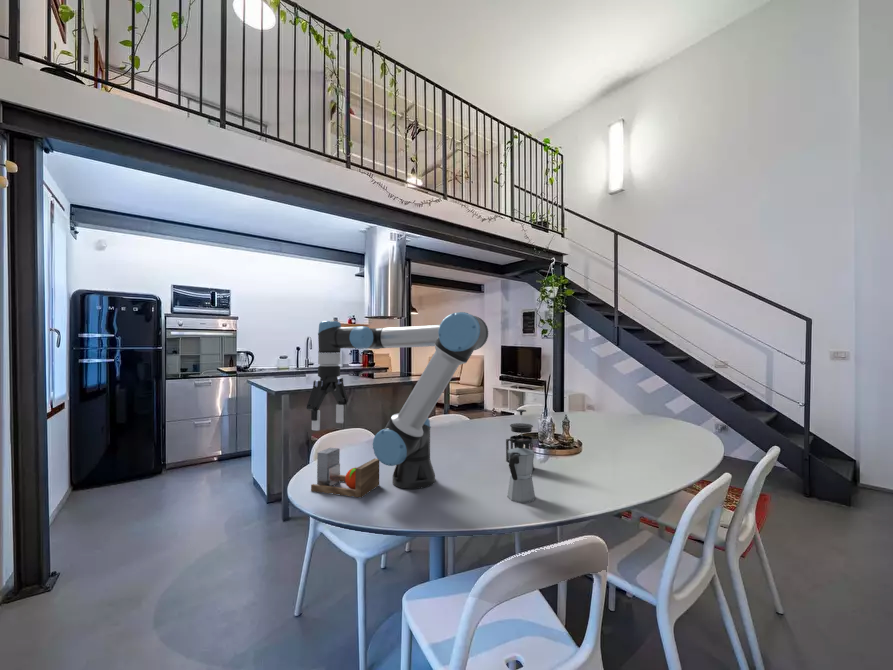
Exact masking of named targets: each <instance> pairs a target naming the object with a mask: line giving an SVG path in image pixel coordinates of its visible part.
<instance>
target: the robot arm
mask: <svg viewBox="0 0 893 670" xmlns="http://www.w3.org/2000/svg"><path fill="white" fill-rule="evenodd" d="M317 337H318V339H317V340H318V350H317V351H318V352H317V353H318V357H317V358H318V360H317V363H318V365H319V366H318V367H317V376H318V377H319V378H320V379H319V380H317V379H316V380H313V382H312V383H313V386H312V389H311V391H310V392H311V393H310V395H309V399H308V402H307V404H306V410H308V411H310V412H311V413H310V416H311V418H310V419H311V430H312V431H320V430H321V410H319V409H320V407H321V406H322V403H323V401H324V399H325V397H326V395H327V394H329V393H331V394H332V396H333V398H334V400H335V401H336V403H337V404H335V423H336V424H344V421H345V419H344V416H345V415H344V414H345V405H347V404H348V402H349V399H348V394H347V392H346V388H345V385H344V378H343V377H341V366H340V364H341V363H342V361H341V359H342V358H341V350H342V349H358V350H360V349H361V350H364V349H365V350H366V349H374V350H379V349H396V348H399V349H400V348H422V347H423V348H424V347H425V348H426V347H434V348H435V351H434V353H433V355H432V357H431V359H430V360H429V362H428V363H427V365H426V366H425V368H424V370H423V372H422V373H421V375H420V377H419V379H418V380H417V381H416V384H415V385H414V387H413V389H412V390H411V391H410V394H409V396H408V398H406V401H405V403H404V404H403V406H402V408H401V409H400V410H399V412H398V413H394V414H392V415H391V417H390V418H389V420H388V421H387V424H386V425H385V427H384V428H383V429H380V430H379V431H378V432H377V433H376V434H375V435H374V436H373V437H374V438H373V440H372V449H373V453H374V455H375V457H376V459H378V460H379V463H382V464H383V465H385V466H389V467H393V466H395V468H394V471H393V473H392V484H393V486H395V487H397V488H401V489H407V490H408V489H409V490H415V489H424V488H427V487H430V486H432V485H434V484H435V482H436V474H435V470H434V467H433V464H432V461H431V421H430V419H429V416H430V415H431V413H432V411H433V409H434V408H435V406H436V404H437V402H438V401H439V400H440V398H441V396H442V394H443V393H444V391H445V389H446V388H447V387H448V384H449V383H450V381H451V380H452V378H453V376H454V375H455V373H456V372H457V370H458V368H459V367H460V366H461V365H463V364H464V365H465V364H467V362H468V361H469V360H470V358H471V356H472V354H473V353H474V351H477V350H479V349H480V348H483V346H484V345H486V343H487V341H488V338H489V329H488V326H487V323H486V322H485V321H484V320H483V319H482V318H481V317H478V316H477V315H473V314H470V313H468V312H463V311H460V312H453V313H450V314H449V315H447V316H445V317H444V319H442V321H441V322H440V324H430V325H427V324H426V325H413V326H396V327H380V328H379V327H376V328H373V327H369V326H362V325H361V326H360V325H358V326H342V323H341V322H340V321H335V320H323V321H320V322H319V325H318V332H317Z"/></svg>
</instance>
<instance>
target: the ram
mask: <svg viewBox="0 0 893 670" xmlns="http://www.w3.org/2000/svg"><path fill="white" fill-rule="evenodd" d="M316 453H317V455H316V457H317V458H316V459H317V461H316V462H317V464H316V465H317V466H316V467H317V469H316V472H317V473H316V479H317V480H316V481H317V482H316V484H317V485H325V486H333V487H335V486H336V485H338V484H340V475H341V463H340V460H341V459H340V456H341V455H340V447H339V448H338V447H328V448H325V449H323V450H320V451H318V452H316ZM334 485H335V486H334Z"/></svg>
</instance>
